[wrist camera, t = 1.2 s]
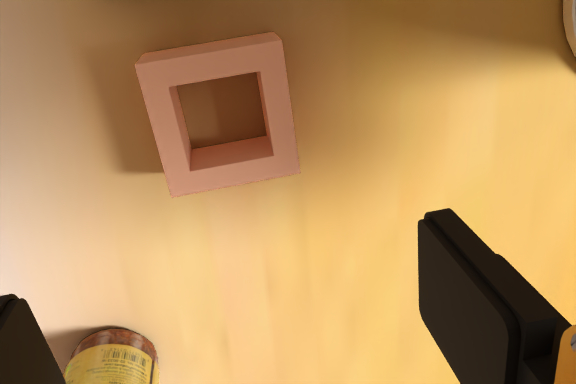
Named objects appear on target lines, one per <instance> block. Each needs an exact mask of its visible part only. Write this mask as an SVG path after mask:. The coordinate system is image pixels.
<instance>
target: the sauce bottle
mask: <svg viewBox="0 0 576 384" xmlns="http://www.w3.org/2000/svg"><path fill="white" fill-rule="evenodd" d="M63 377H64V379H65V381H66V384H158V383H159V368H158V357H157V353H156V350H155V348H154V346H153V344H152V343H151V342H150V341H149V340H148V339H147V338H145V337H144V336H142V335H140V334H137V333H134V332H133V331H130V330H124V329H108V330H103V331H99V332H97V333H94V334H92V335H90V336H88V337H86V338H85V339H84V340H82V341H81V342H80V343H79V345H78V346H77V348H76V350H75V351H74V352H73V354H72V356H71V359H70V362H69V363H68V365H67V366H66V368H65V371H64V374H63Z"/></svg>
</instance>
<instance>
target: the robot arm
mask: <svg viewBox="0 0 576 384" xmlns="http://www.w3.org/2000/svg"><path fill="white" fill-rule="evenodd" d="M563 22H564V27H565V32H566V37H567V40H568V43H569V45H570V47H571V49H572V52H573V54H574V56H575V57H576V0H563ZM418 273H419V310H420V314H421V317H422V320H423V321H424V323H425V325H426V327H427V328H428V330H429V332H430V333H431V335H432V337H433V338H434V340H435V342H436V343H437V345H438V347H439V348H440V350H441V352H442V353H443V355H444V357H445V358H446V360H447V362H448V363H449V365H450V367H451V368H452V370H453V372H454V373H455V375H456V377H457V378H458V380H459V382H460V384H576V325H573V326H572V325H571V324H570V323H569V322H568V321H567V320H566V319H565V318H564V317H563V316H562V315H561V314H560V313H559V312H558V311H557V310H556V309H555V308H554V307H553V306H552V305H551V304H550V303H549V302H548V301H547V300H546V299H545V298H544V297H543V296H542V295H541V294H540V293H539V292H538V291H537V290H536V289H535V288H534V287H533V286H532V285H531V284H530V283H529V282H528V281H527V280H526V279H525V278H524V277H523V276H522V275H521V274H520V273H519V272H518V271H517V270H516V269H515V268H514V267H513V266H512V265H511V264H510V263H509V262H508V261H507V260H506V259H505V258H503V257H502V256H501V255H499V254H495V253H494V252H493V251H492V250H491V249H490V248H489V247H488V246H487V245H486V244H485V243H484V242H483V241H482V240H481V239H480V238H479V237H478V236H477V235H476V234H475V233H474V232H473V231H472V230H471V229H470V228H469V227H468V226H467V225H466V224H465V223H464V222H463V221H462V220H461V219H460V218H459V217H458V216H457V215H456V214H455V212H454V211H453V210H451V209H450V208H447V209H442V210H437V211H432V212H427V213H426V214H425V216H424V219H422V220H419V221H418ZM0 384H66V381H65V379H64V377H63V375H62V373H61V371H60V369H59V366H58V364H57V362H56V360H55V358H54V356H53V354H52V352H51V350H50V348H49V346H48V344H47V342H46V340H45V338H44V336H43V334H42V332H41V329H40V327H39V325H38V323H37V321H36V319H35V317H34V315H33V313H32V311H31V309H30V307H29V305H28V303H27V301H26V300H25V299H23V298H20V299H19V298H18V297H17V296H16V295H15V294H8V295H3V296H0Z"/></svg>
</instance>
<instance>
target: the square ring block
mask: <svg viewBox="0 0 576 384" xmlns="http://www.w3.org/2000/svg"><path fill="white" fill-rule="evenodd" d="M134 66H135V69H136V73H137V76H138V80H139V84H140V87H141V91H142V94H143V98H144V101H145V105H146V108H147V112H148V116H149V119H150V123H151V126H152V130H153V133H154V137H155V141H156V144H157V148H158V151H159V155H160V158H161V162H162V165H163V169H164V173H165V176H166V180H167V183H168V187H169V190H170V194H171V198H173V197H178V196H183V195H189V194H194V193H199V192H204V191H209V190H215V189H220V188H225V187H230V186H236V185H241V184H246V183H251V182H256V181H262V180H267V179H272V178H277V177H283V176H288V175H293V174H298V173H300V165H299V158H298V151H297V144H296V137H295V130H294V122H293V115H292V108H291V101H290V94H289V87H288V79H287V72H286V65H285V58H284V51H283V44H282V40H281V39H280V38H279V37H278V36H277V35H276V34H275V33H274V32H267V33H261V34H255V35H249V36H243V37H238V38H232V39H226V40H220V41H214V42H208V43H202V44H196V45H190V46H184V47H178V48H172V49H166V50H160V51H154V52H148V53H143V54H142V56H141V57H140V58H139V60H138V61H137V62H136V63H135V65H134ZM252 72H256V73H257V79H258V85H259V91H260V97H261V103H262V109H263V115H264V121H265V127H266V133H267V136H262V137H256V138H251V139H245V140H240V141H234V142H229V143H224V144H218V145H213V146H207V147H202V148H196V149H192V148H191V144H190V140H189V136H188V132H187V128H186V124H185V119H184V115H183V111H182V107H181V103H180V99H179V95H178V91H177V87H176V86H177V85H183V84H189V83H195V82H200V81H206V80H212V79H218V78H223V77H229V76H235V75H241V74H247V73H252Z"/></svg>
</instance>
